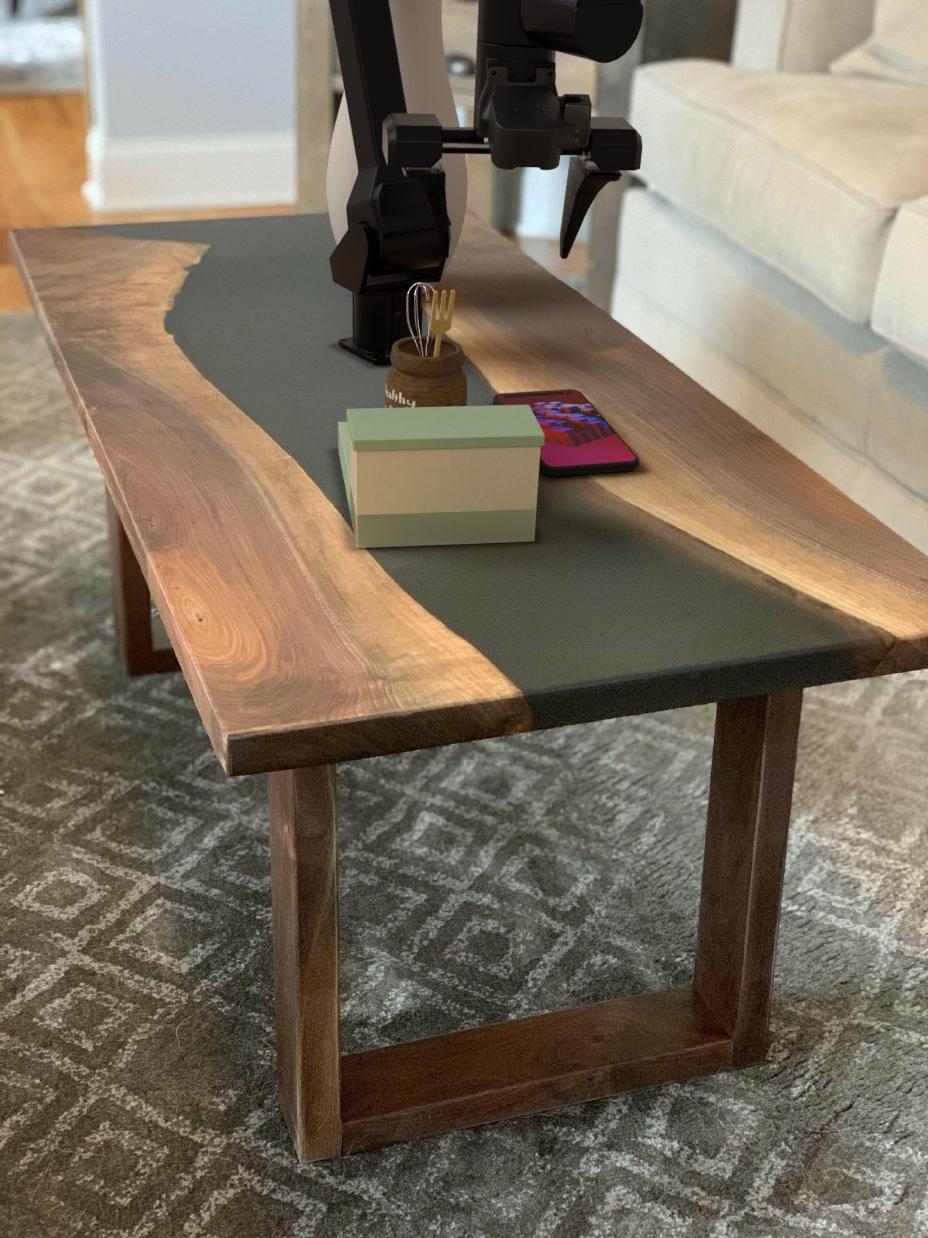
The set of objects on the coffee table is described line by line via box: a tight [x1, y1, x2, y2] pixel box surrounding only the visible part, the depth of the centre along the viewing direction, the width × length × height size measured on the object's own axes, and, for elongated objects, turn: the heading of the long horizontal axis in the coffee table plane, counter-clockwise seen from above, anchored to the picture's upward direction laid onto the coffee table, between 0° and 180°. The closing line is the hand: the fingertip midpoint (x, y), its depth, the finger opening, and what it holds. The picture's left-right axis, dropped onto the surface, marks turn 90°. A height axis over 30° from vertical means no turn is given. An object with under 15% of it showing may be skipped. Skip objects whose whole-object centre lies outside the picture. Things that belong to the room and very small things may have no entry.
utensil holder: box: [384, 282, 468, 408], centre depth 100 cm, size 6×6×12 cm
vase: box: [326, 0, 469, 295], centre depth 135 cm, size 14×14×30 cm
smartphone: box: [492, 388, 640, 477], centre depth 111 cm, size 8×1×15 cm
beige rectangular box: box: [337, 405, 545, 549], centre depth 99 cm, size 16×12×8 cm
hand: (504, 257), depth 108 cm, fingers open, 9 cm apart
